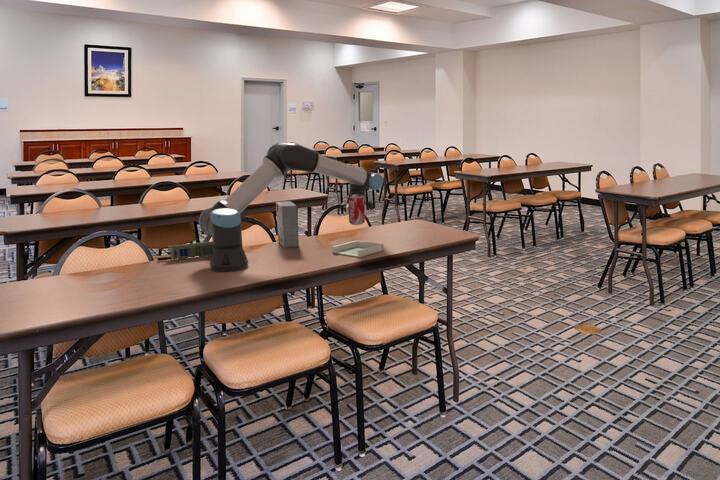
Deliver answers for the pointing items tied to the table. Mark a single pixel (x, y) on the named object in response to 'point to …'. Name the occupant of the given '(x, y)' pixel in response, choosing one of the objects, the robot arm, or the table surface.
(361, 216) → the soda can
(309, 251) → the table surface
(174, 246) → the handheld radio
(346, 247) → the box
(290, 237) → the hard drive box
